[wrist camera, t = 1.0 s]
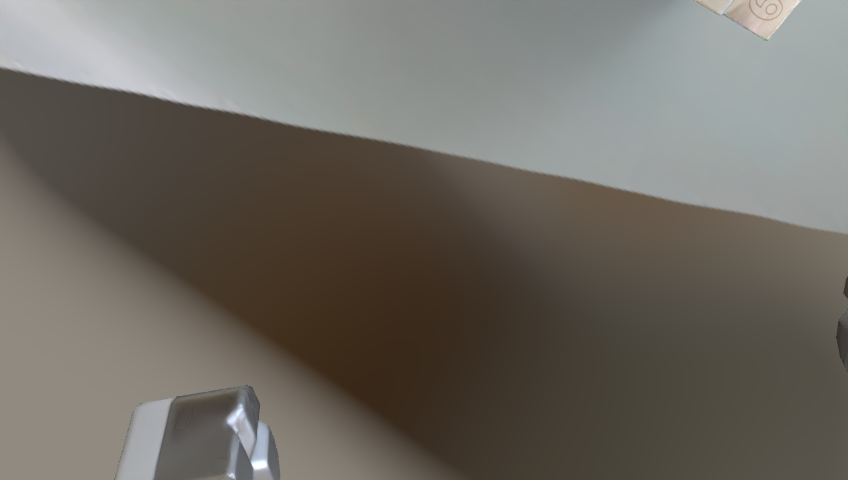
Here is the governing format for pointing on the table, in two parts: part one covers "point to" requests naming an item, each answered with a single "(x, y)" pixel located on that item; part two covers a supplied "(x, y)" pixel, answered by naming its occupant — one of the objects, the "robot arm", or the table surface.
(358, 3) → the table surface
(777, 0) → the stack of blocks
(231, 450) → the robot arm
